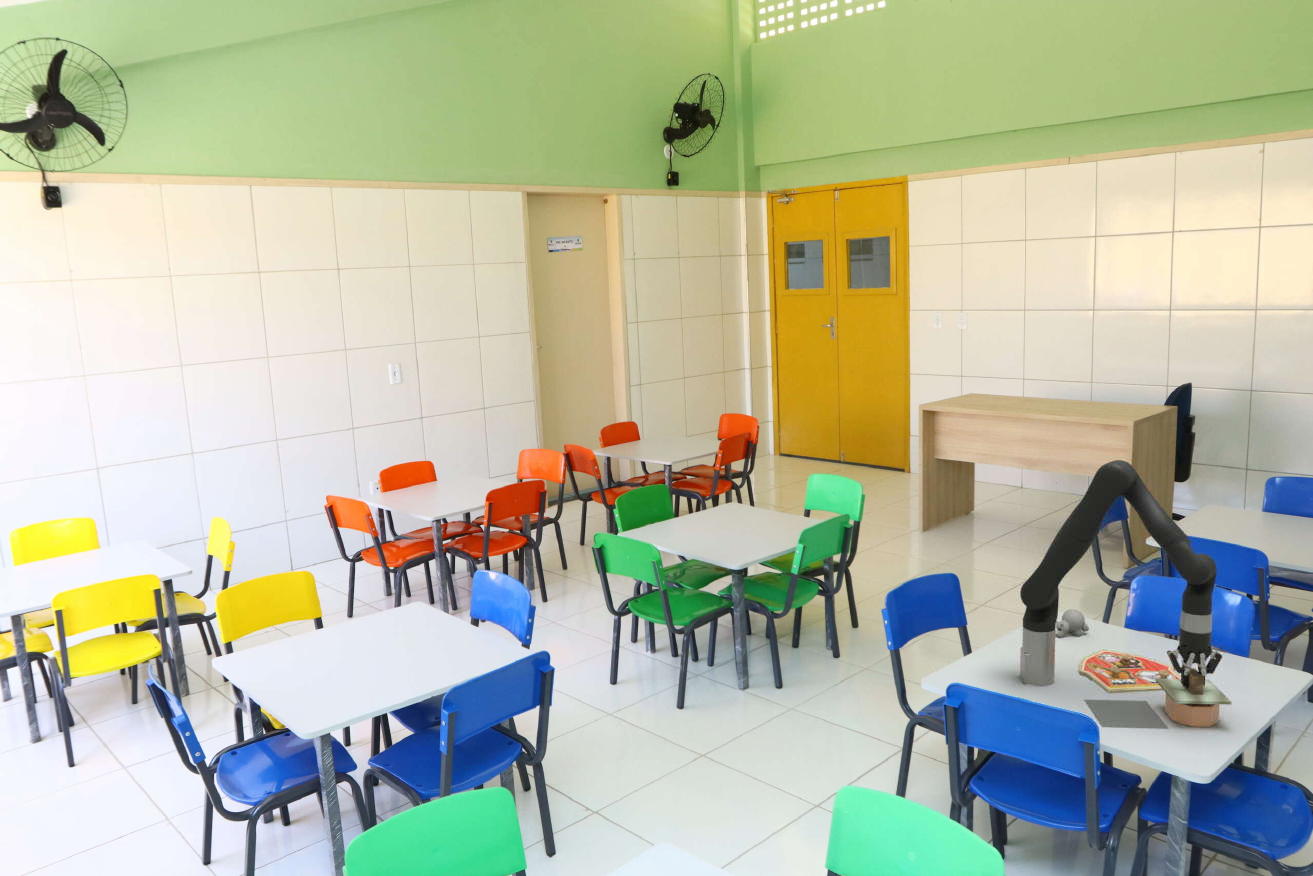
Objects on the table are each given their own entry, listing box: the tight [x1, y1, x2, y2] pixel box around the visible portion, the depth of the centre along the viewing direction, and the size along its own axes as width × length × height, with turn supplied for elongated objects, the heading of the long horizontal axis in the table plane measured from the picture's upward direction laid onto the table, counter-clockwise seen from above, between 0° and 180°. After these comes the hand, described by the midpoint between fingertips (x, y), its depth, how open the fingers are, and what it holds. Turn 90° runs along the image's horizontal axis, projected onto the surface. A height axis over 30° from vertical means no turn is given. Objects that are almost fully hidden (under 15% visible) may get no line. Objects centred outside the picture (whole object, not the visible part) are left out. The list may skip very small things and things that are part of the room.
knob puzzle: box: [1078, 649, 1181, 694], centre depth 290 cm, size 29×30×4 cm
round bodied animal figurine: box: [1055, 608, 1090, 638], centre depth 321 cm, size 7×12×8 cm, turn 106°
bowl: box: [1164, 693, 1220, 728], centre depth 258 cm, size 12×12×6 cm
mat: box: [1083, 699, 1169, 730], centre depth 262 cm, size 17×17×1 cm
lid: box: [1156, 667, 1233, 706], centre depth 257 cm, size 14×14×6 cm
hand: (1192, 686), depth 257 cm, fingers closed on lid, 3 cm apart
